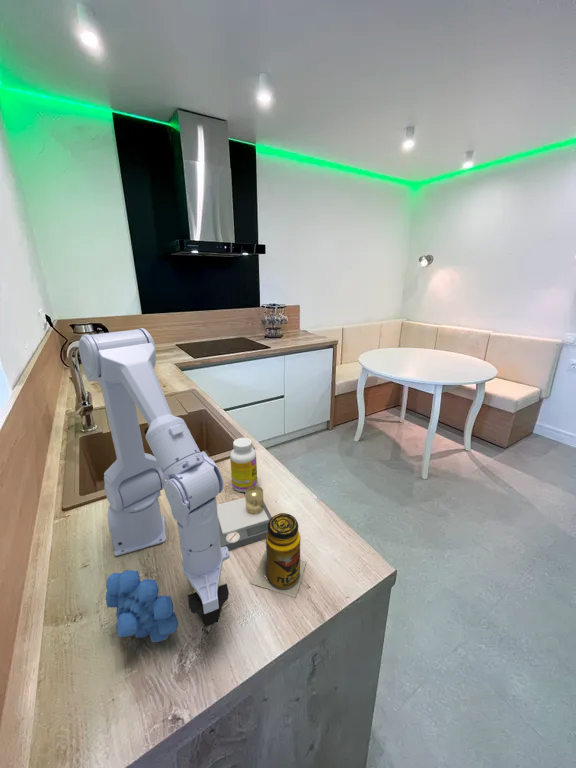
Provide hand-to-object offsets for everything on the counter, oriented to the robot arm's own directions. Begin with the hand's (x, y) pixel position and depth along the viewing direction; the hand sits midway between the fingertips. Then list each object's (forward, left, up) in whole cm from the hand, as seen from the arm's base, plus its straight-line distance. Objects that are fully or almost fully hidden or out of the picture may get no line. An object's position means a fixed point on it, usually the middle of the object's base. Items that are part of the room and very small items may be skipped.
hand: (207, 601), depth 51 cm
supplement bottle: (+14, +29, -2) cm, 32 cm away
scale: (+10, +16, -1) cm, 19 cm away
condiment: (+13, +1, -2) cm, 13 cm away
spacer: (+13, +17, +1) cm, 22 cm away
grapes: (-10, -1, -2) cm, 10 cm away
